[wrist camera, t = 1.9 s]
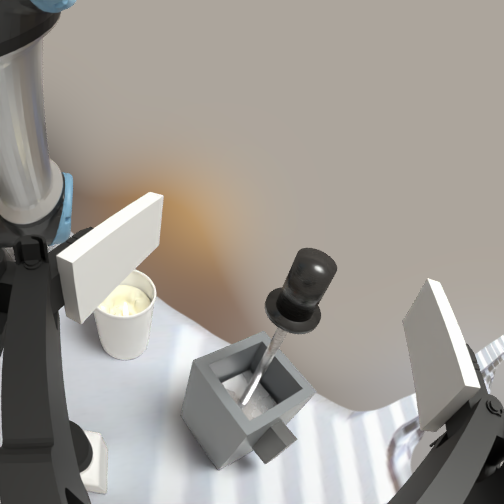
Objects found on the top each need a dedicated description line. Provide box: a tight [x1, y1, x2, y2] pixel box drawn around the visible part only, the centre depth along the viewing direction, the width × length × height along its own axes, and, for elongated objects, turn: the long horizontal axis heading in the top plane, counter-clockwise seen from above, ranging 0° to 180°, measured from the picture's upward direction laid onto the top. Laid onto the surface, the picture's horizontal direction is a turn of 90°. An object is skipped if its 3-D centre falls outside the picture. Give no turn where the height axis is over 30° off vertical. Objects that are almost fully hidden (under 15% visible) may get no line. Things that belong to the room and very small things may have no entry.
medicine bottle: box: [69, 420, 108, 494], centre depth 27 cm, size 7×7×12 cm
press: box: [181, 331, 317, 470], centre depth 37 cm, size 13×10×16 cm
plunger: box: [222, 248, 337, 421], centre depth 30 cm, size 7×7×23 cm
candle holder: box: [93, 269, 156, 360], centre depth 46 cm, size 10×10×12 cm
